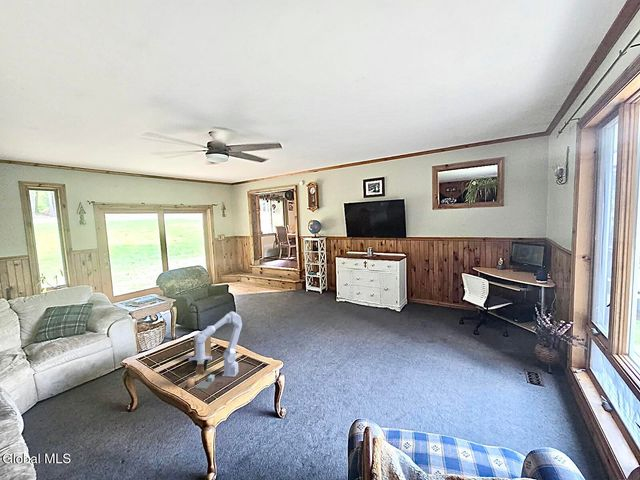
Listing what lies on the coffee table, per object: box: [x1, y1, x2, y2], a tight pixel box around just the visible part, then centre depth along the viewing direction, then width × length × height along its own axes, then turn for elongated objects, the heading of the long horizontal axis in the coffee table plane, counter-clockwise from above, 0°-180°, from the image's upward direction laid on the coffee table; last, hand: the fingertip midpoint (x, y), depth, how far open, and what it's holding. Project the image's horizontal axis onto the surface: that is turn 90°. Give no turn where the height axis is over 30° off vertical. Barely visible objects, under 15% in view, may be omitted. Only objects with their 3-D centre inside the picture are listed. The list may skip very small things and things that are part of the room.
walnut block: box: [195, 364, 206, 376], centre depth 191 cm, size 5×5×5 cm
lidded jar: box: [193, 352, 210, 365], centre depth 215 cm, size 11×11×9 cm
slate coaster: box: [194, 380, 213, 390], centre depth 188 cm, size 8×8×1 cm
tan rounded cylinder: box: [186, 376, 196, 389], centre depth 187 cm, size 4×4×5 cm
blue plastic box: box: [207, 374, 216, 383], centre depth 194 cm, size 3×4×3 cm
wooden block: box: [193, 331, 212, 357], centre depth 225 cm, size 10×10×20 cm
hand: (200, 370), depth 191 cm, fingers closed on walnut block, 5 cm apart
